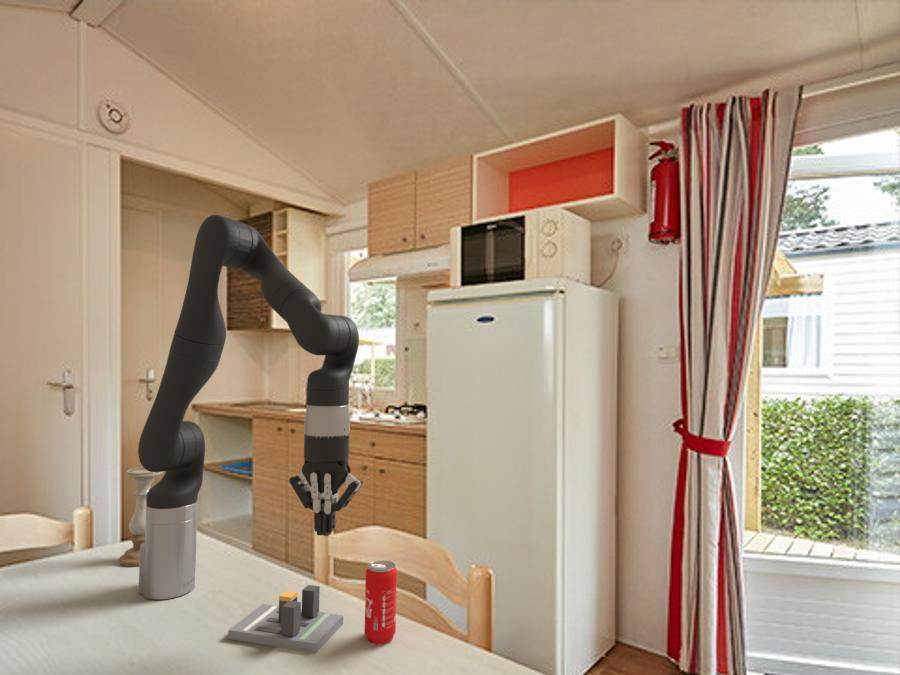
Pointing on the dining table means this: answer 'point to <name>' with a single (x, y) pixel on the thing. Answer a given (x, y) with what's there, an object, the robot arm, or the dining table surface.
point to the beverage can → (380, 602)
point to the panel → (267, 630)
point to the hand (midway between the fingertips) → (324, 534)
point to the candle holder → (138, 514)
